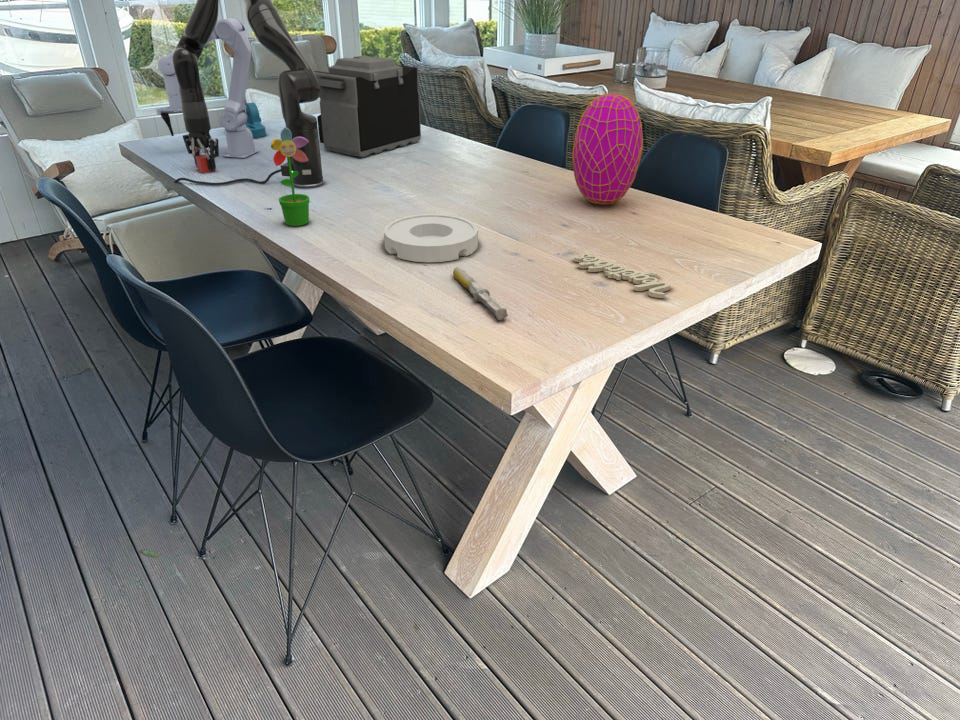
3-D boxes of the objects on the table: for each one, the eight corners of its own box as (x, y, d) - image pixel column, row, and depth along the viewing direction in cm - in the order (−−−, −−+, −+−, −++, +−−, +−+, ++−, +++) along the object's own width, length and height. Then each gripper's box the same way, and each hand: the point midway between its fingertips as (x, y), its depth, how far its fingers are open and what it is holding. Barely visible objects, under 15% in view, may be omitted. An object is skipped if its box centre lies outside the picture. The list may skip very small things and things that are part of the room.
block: (209, 168, 229) (207, 153, 227) (214, 171, 226) (212, 156, 224) (197, 170, 227) (195, 155, 224) (202, 173, 224) (199, 158, 222)
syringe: (449, 274, 155) (449, 263, 153) (465, 272, 156) (464, 260, 154) (490, 323, 135) (491, 310, 133) (508, 319, 136) (508, 307, 134)
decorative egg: (611, 217, 189) (624, 103, 174) (555, 202, 201) (562, 94, 185) (647, 202, 202) (662, 94, 186) (592, 188, 213) (602, 86, 198)
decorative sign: (686, 282, 150) (660, 295, 144) (686, 286, 150) (659, 300, 144) (592, 249, 166) (565, 259, 160) (592, 253, 167) (565, 263, 161)
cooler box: (383, 133, 276) (378, 52, 261) (425, 141, 265) (422, 56, 250) (314, 150, 251) (304, 61, 235) (358, 160, 240) (350, 67, 224)
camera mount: (228, 130, 277) (223, 103, 272) (254, 127, 282) (250, 100, 277) (243, 139, 265) (238, 110, 259) (269, 136, 270) (266, 108, 264)
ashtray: (391, 227, 181) (390, 212, 179) (479, 229, 180) (479, 214, 178) (377, 261, 161) (376, 245, 159) (476, 263, 160) (476, 247, 158)
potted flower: (284, 229, 179) (270, 130, 166) (277, 220, 185) (263, 124, 172) (319, 224, 183) (308, 127, 170) (311, 215, 188) (300, 121, 176)
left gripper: (154, 97, 229) (163, 138, 236) (199, 94, 235) (207, 135, 242) (152, 93, 235) (161, 134, 242) (197, 91, 240) (204, 131, 247)
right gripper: (221, 115, 218) (230, 169, 226) (189, 111, 224) (199, 163, 232) (202, 120, 212) (212, 174, 221) (170, 115, 218) (181, 168, 226)
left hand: (184, 134), depth 242 cm, fingers open, 7 cm apart
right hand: (206, 168), depth 226 cm, fingers closed on block, 5 cm apart
